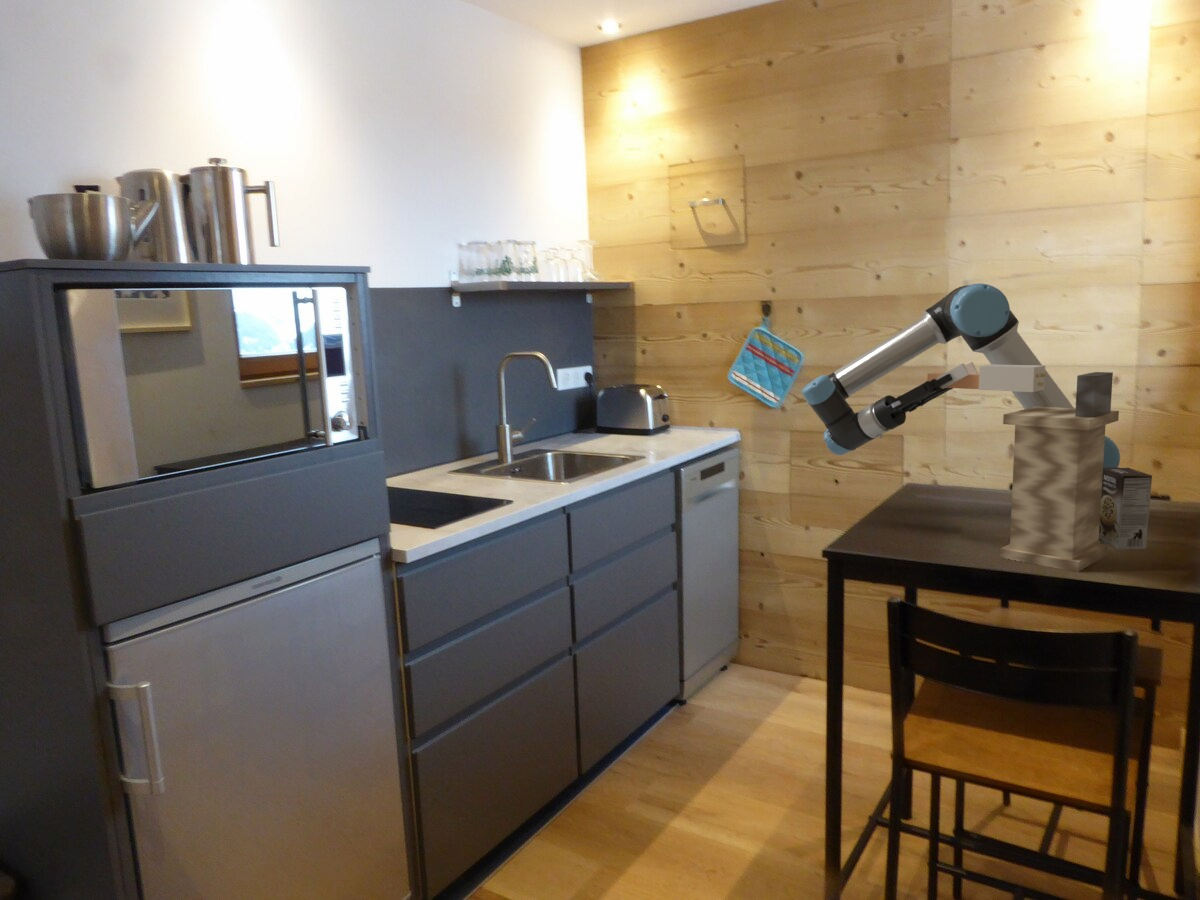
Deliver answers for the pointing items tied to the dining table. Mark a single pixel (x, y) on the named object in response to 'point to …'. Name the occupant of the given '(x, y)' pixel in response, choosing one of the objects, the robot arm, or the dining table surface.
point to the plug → (1002, 378)
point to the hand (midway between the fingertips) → (970, 368)
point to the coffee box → (1125, 508)
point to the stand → (1060, 478)
